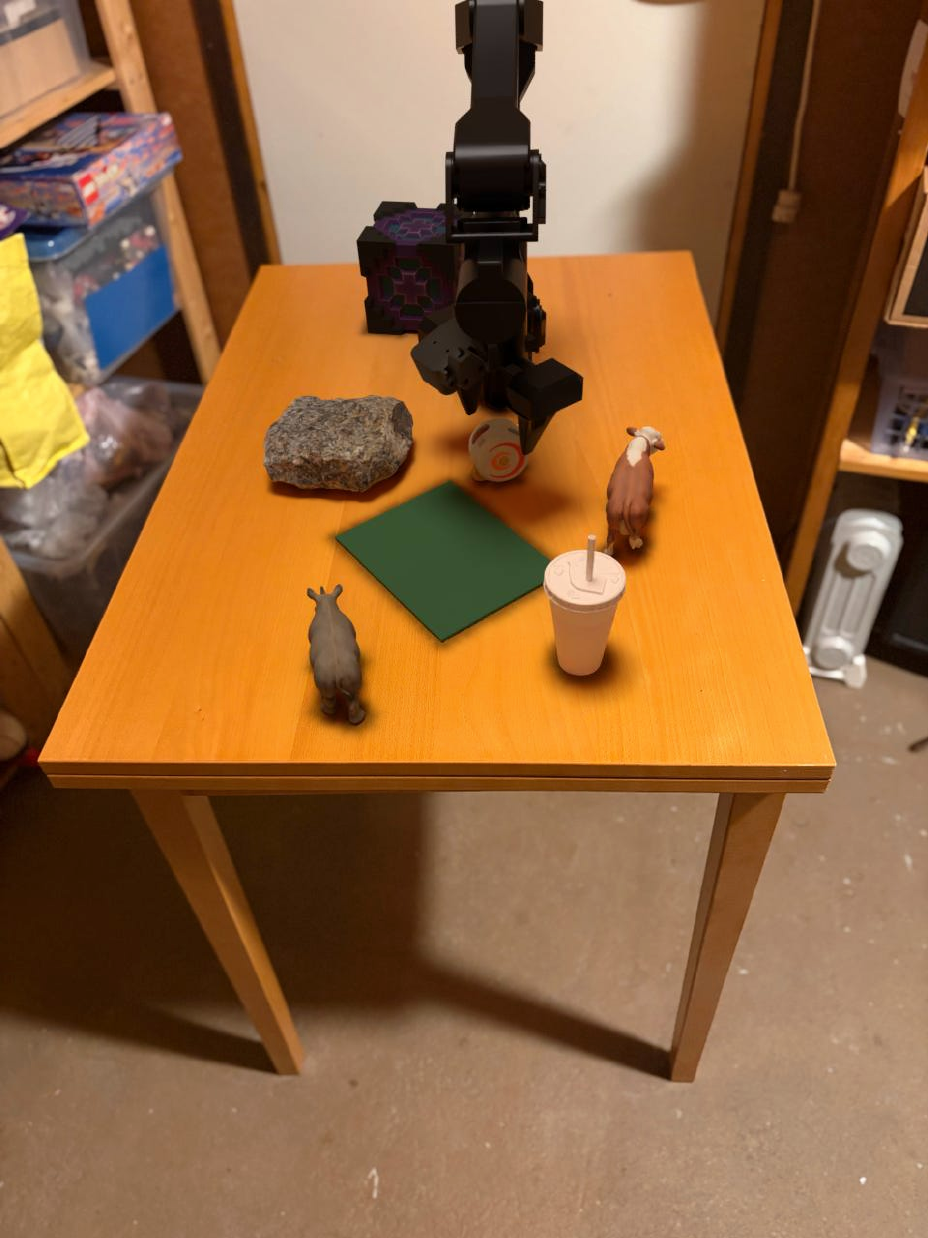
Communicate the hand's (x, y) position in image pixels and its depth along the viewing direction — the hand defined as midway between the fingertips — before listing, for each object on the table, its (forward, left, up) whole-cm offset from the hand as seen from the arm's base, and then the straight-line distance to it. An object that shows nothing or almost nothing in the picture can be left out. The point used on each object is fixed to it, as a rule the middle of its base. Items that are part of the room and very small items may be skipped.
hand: (498, 433), depth 94 cm
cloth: (+12, +7, -5) cm, 15 cm away
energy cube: (-14, -34, -5) cm, 37 cm away
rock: (+12, -12, -5) cm, 18 cm away
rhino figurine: (+28, +13, -5) cm, 31 cm away
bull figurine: (-5, +15, -5) cm, 16 cm away
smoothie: (+11, +25, -5) cm, 28 cm away
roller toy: (0, 0, -5) cm, 5 cm away
